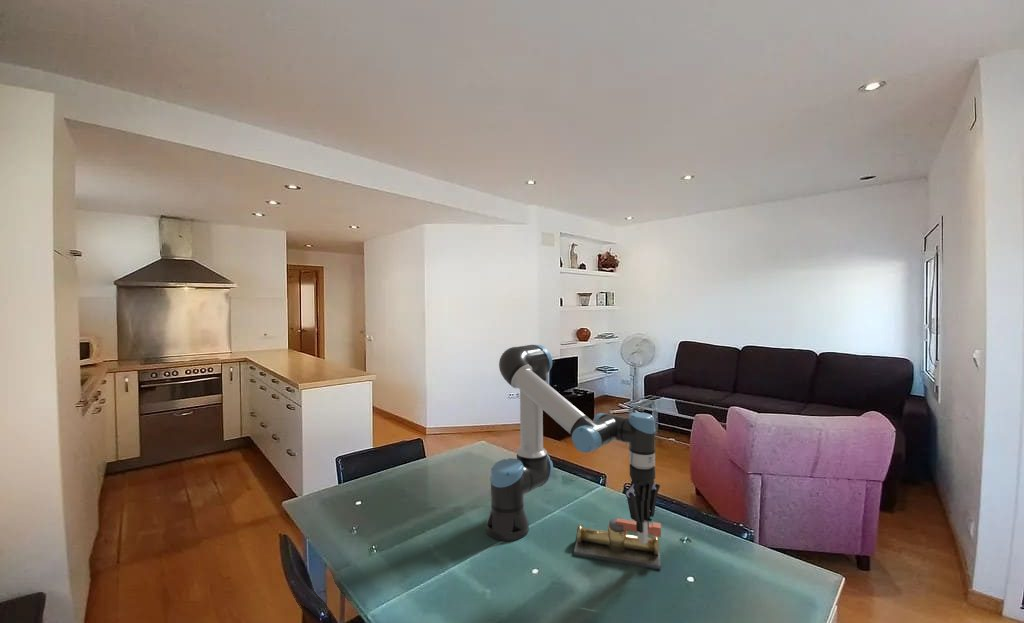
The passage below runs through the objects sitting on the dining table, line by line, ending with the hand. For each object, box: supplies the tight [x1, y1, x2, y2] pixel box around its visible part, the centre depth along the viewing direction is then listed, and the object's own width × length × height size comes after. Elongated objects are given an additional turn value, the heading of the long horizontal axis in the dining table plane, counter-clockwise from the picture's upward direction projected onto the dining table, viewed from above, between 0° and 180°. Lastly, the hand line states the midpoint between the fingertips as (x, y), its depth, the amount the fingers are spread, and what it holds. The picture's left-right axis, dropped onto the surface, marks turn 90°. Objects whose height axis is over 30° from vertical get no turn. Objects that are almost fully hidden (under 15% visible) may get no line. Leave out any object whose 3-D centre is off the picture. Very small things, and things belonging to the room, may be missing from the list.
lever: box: [608, 517, 662, 538], centre depth 131 cm, size 5×16×3 cm, turn 69°
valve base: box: [573, 524, 662, 571], centre depth 133 cm, size 26×14×7 cm, turn 73°
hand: (642, 541), depth 126 cm, fingers closed
